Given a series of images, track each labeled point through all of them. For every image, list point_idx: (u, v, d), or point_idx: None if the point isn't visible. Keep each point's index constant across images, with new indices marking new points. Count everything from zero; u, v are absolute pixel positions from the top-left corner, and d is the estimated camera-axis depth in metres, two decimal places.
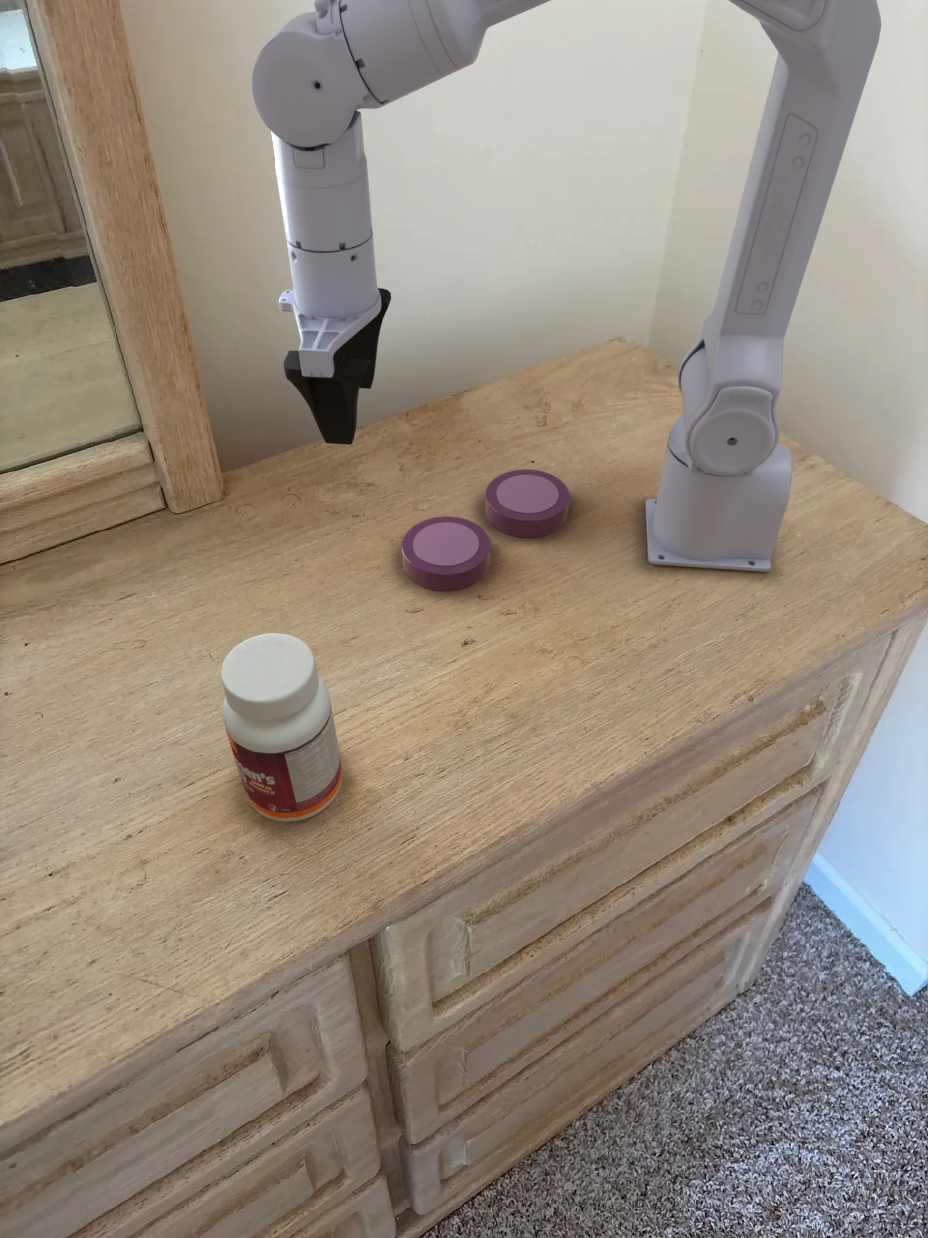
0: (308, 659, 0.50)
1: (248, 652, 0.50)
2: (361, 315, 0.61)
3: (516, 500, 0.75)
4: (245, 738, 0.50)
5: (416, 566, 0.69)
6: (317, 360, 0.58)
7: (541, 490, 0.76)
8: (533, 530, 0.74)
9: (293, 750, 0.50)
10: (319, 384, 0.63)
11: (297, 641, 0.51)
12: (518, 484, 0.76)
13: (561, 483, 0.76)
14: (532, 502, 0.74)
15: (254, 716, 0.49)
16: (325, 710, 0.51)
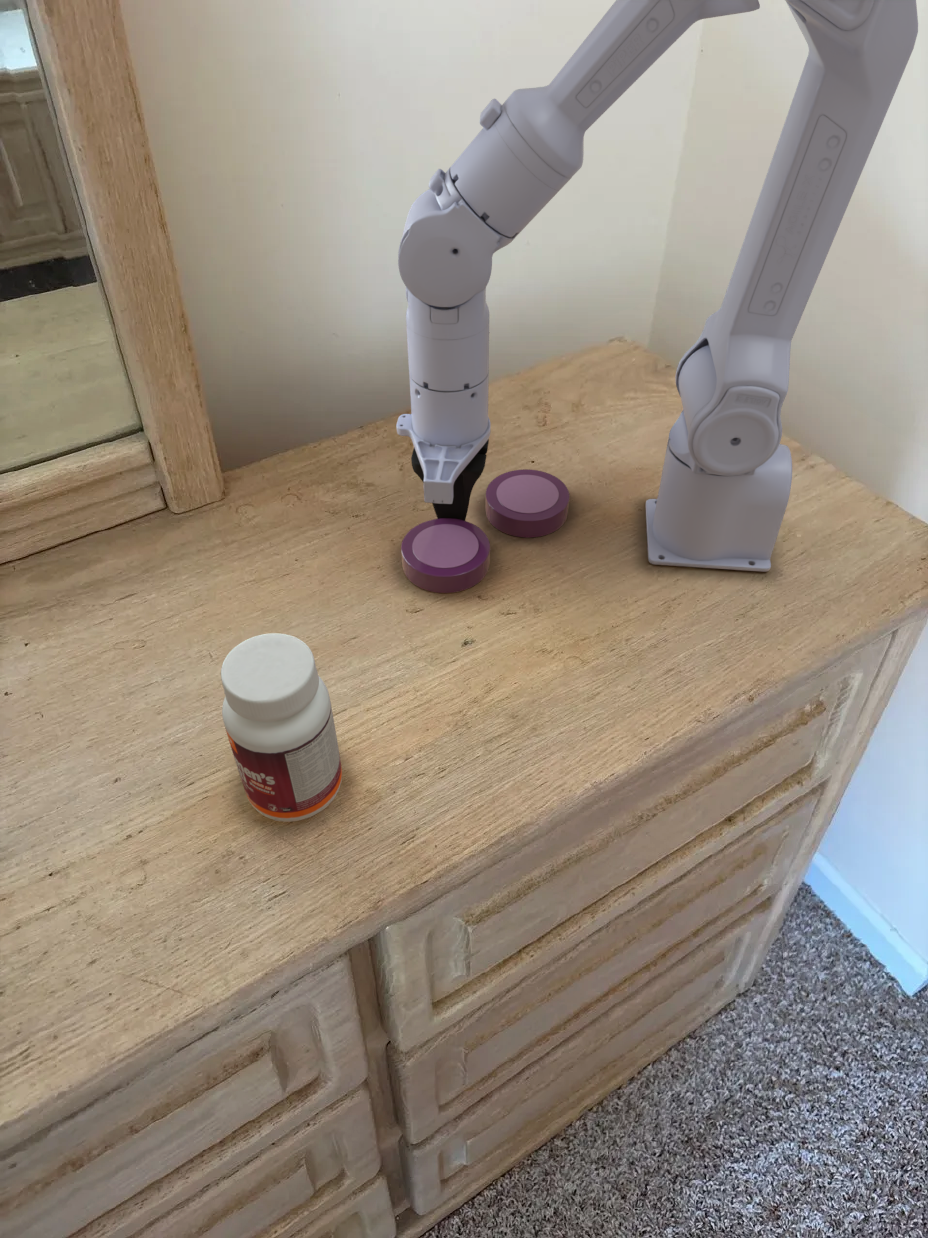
0: (308, 659, 0.50)
1: (248, 652, 0.50)
2: (475, 443, 0.66)
3: (516, 500, 0.75)
4: (245, 738, 0.50)
5: (415, 568, 0.69)
6: (440, 490, 0.63)
7: (541, 490, 0.76)
8: (533, 530, 0.74)
9: (293, 751, 0.50)
10: None
11: (297, 641, 0.51)
12: (518, 484, 0.76)
13: (561, 483, 0.76)
14: (532, 502, 0.74)
15: (254, 716, 0.49)
16: (325, 710, 0.51)
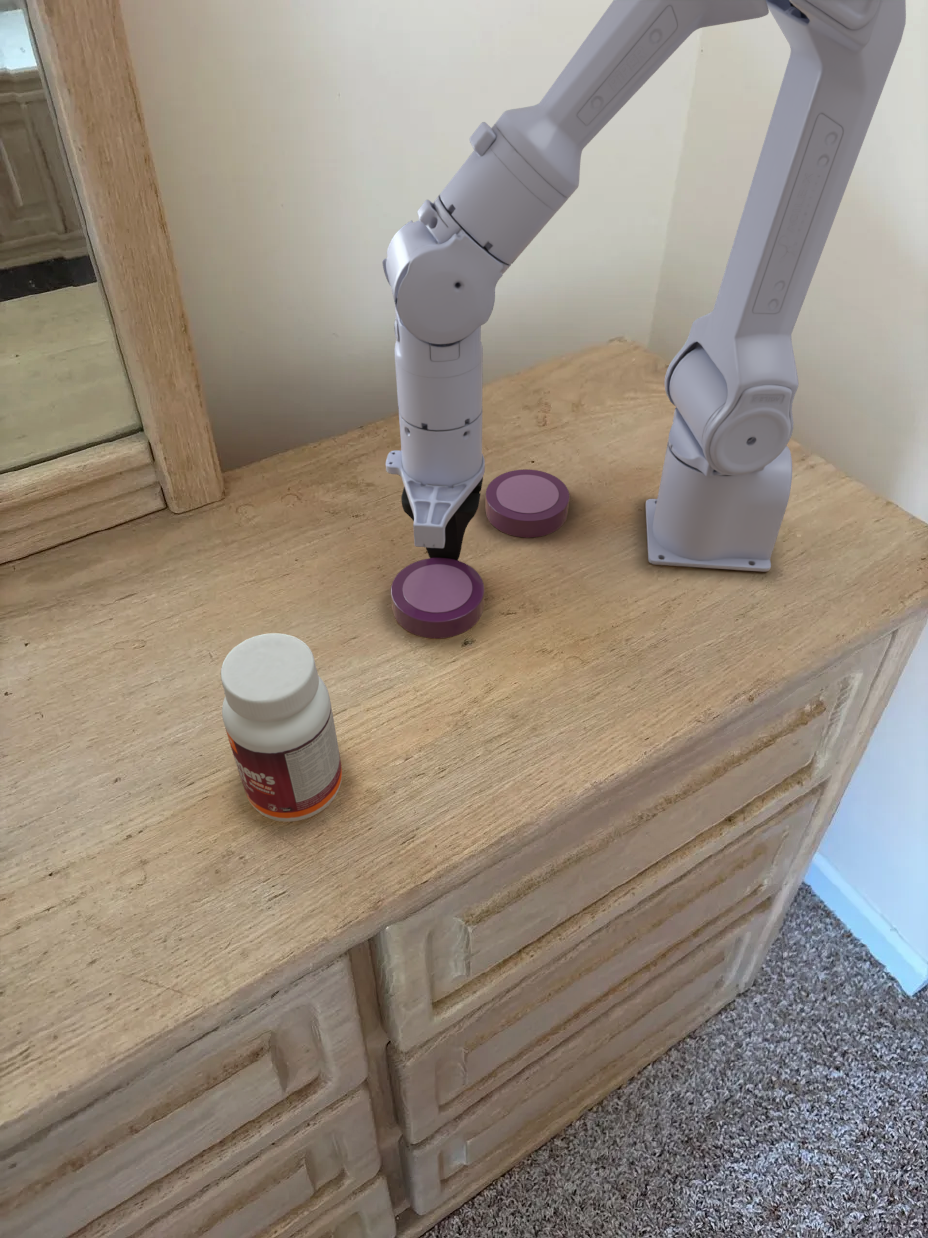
0: (308, 659, 0.50)
1: (248, 652, 0.50)
2: (469, 482, 0.63)
3: (516, 500, 0.75)
4: (245, 738, 0.50)
5: (405, 613, 0.66)
6: (431, 534, 0.60)
7: (541, 490, 0.76)
8: (533, 530, 0.74)
9: (293, 751, 0.50)
10: None
11: (297, 641, 0.51)
12: (518, 484, 0.76)
13: (561, 483, 0.76)
14: (532, 502, 0.74)
15: (254, 716, 0.49)
16: (325, 710, 0.51)
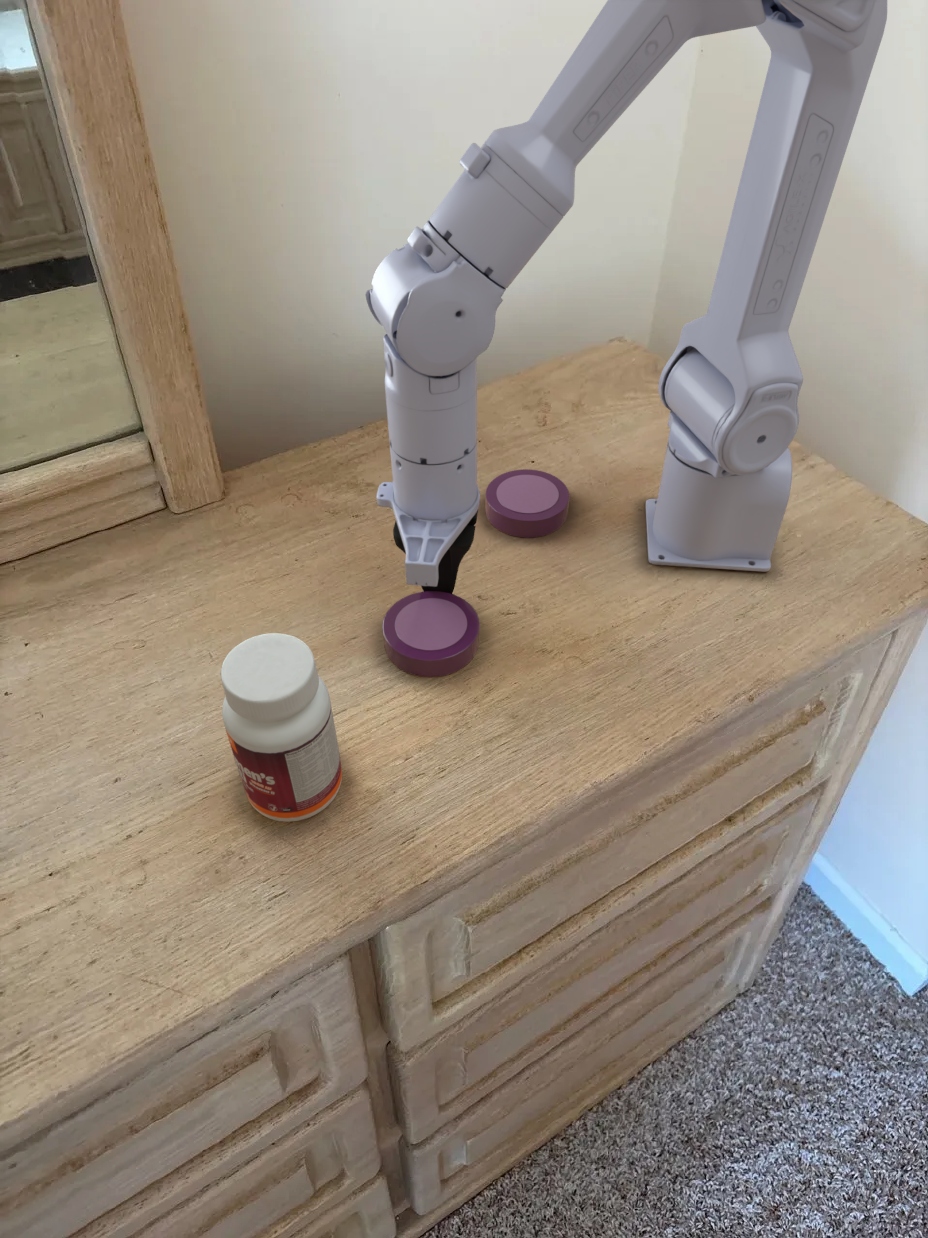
0: (308, 659, 0.50)
1: (248, 652, 0.50)
2: (463, 517, 0.60)
3: (516, 500, 0.75)
4: (245, 738, 0.50)
5: (397, 651, 0.63)
6: (423, 572, 0.57)
7: (541, 490, 0.76)
8: (533, 530, 0.74)
9: (293, 751, 0.50)
10: None
11: (297, 641, 0.51)
12: (518, 484, 0.76)
13: (561, 483, 0.76)
14: (532, 502, 0.74)
15: (254, 716, 0.49)
16: (325, 710, 0.51)
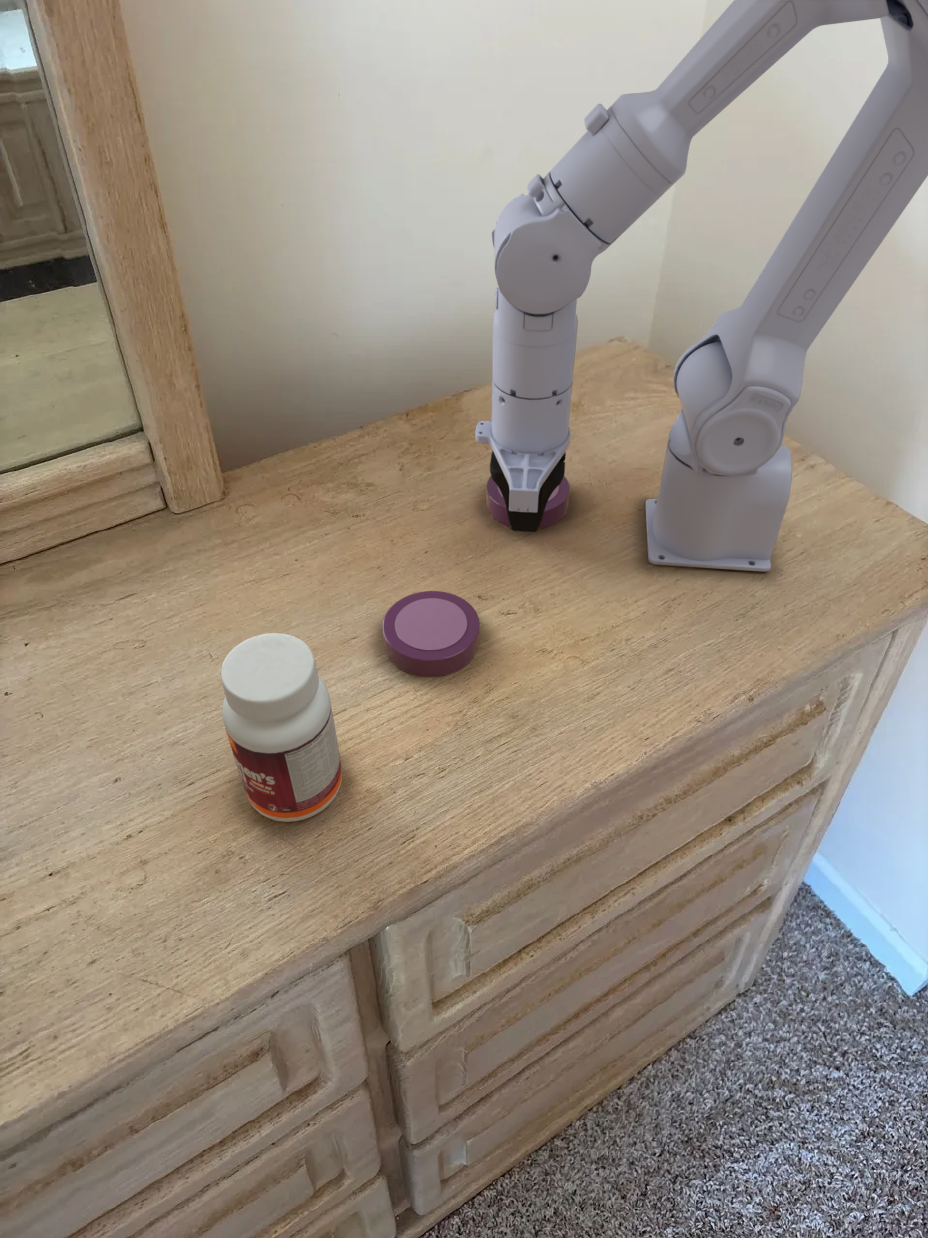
0: (308, 659, 0.50)
1: (248, 652, 0.50)
2: (558, 450, 0.65)
3: None
4: (245, 738, 0.50)
5: (397, 651, 0.63)
6: (526, 498, 0.62)
7: None
8: None
9: (293, 751, 0.50)
10: None
11: (297, 641, 0.51)
12: None
13: None
14: None
15: (254, 716, 0.49)
16: (325, 710, 0.51)
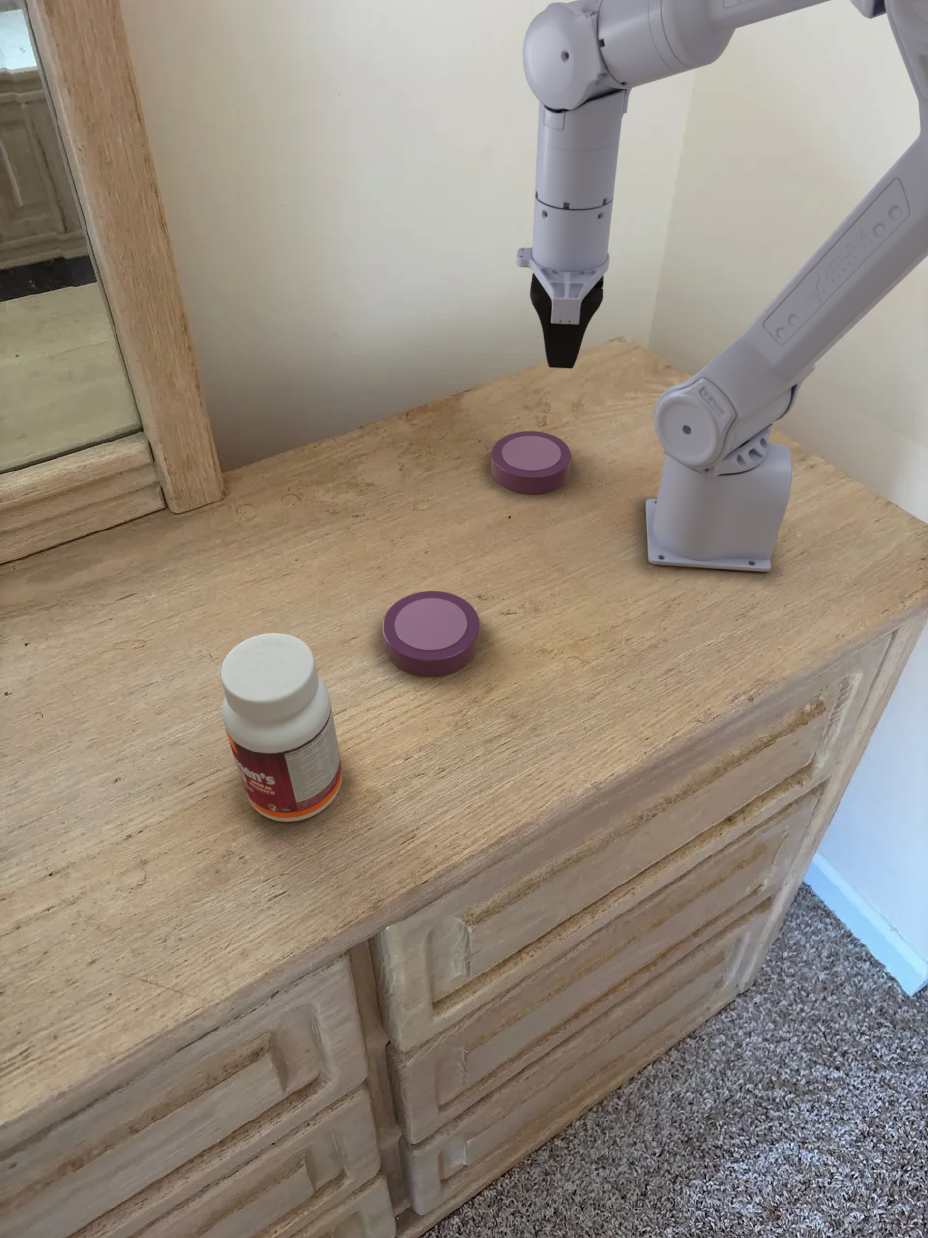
0: (308, 659, 0.50)
1: (248, 652, 0.50)
2: (598, 269, 0.67)
3: (520, 459, 0.79)
4: (245, 738, 0.50)
5: (397, 651, 0.63)
6: (568, 308, 0.64)
7: (544, 449, 0.80)
8: (536, 486, 0.78)
9: (293, 751, 0.50)
10: None
11: (297, 641, 0.51)
12: (522, 444, 0.80)
13: (563, 443, 0.80)
14: (535, 460, 0.78)
15: (254, 716, 0.49)
16: (325, 710, 0.51)
